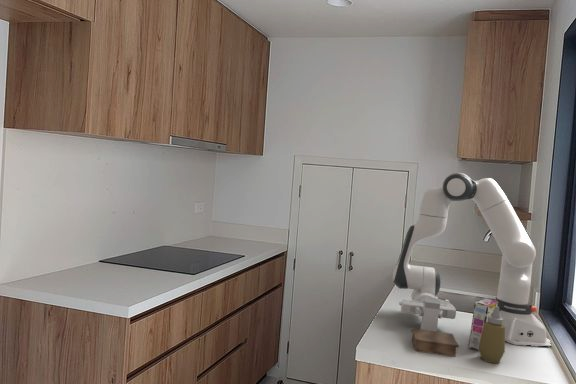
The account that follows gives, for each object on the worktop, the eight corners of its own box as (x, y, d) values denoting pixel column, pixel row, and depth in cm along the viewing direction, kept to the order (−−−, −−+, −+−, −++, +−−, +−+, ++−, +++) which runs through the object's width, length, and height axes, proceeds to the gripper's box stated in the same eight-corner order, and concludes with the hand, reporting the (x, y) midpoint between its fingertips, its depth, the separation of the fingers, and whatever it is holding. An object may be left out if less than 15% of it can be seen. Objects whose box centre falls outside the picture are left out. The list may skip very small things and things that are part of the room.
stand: (450, 344, 185) (451, 333, 185) (457, 357, 173) (458, 345, 173) (410, 339, 186) (411, 328, 186) (414, 351, 175) (415, 339, 174)
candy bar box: (482, 352, 181) (488, 305, 180) (467, 347, 184) (473, 301, 183) (492, 345, 189) (498, 300, 188) (479, 341, 192) (484, 297, 191)
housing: (434, 331, 196) (437, 300, 195) (436, 336, 191) (440, 303, 190) (420, 329, 196) (423, 298, 196) (421, 334, 191) (425, 302, 190)
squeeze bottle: (506, 361, 174) (513, 308, 173) (497, 367, 168) (505, 312, 167) (482, 353, 179) (489, 301, 178) (473, 358, 173) (480, 305, 172)
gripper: (399, 293, 207) (402, 302, 193) (452, 300, 204) (459, 310, 191) (397, 309, 207) (400, 319, 194) (450, 316, 205) (457, 327, 191)
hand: (430, 315), depth 192 cm, fingers closed on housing, 5 cm apart
